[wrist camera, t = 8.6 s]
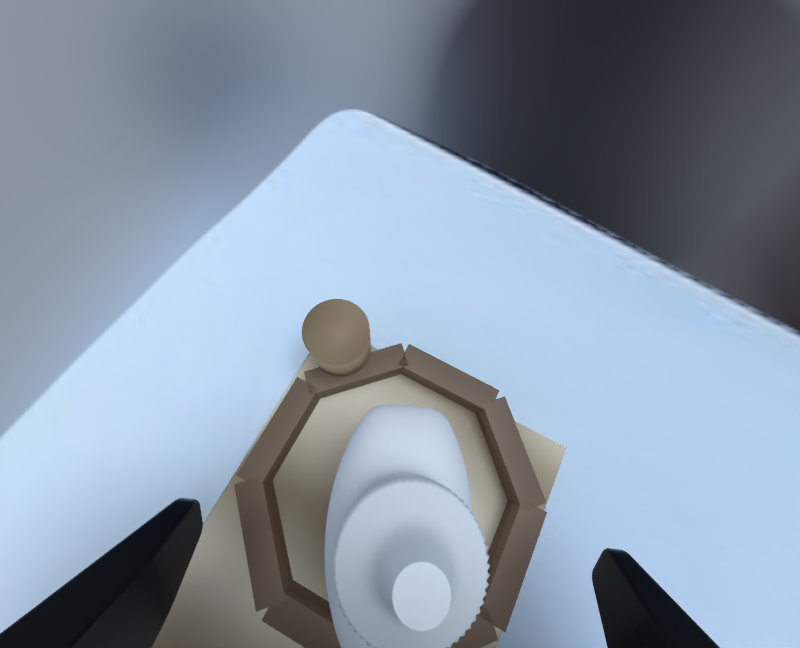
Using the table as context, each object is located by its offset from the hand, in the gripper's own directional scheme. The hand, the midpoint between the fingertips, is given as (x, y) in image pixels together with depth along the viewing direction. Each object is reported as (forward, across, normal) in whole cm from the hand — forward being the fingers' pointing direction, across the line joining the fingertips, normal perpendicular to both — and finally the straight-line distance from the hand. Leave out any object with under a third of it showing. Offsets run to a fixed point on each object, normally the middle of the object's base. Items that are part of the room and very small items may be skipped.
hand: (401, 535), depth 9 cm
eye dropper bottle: (+6, 0, +5) cm, 8 cm away
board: (+5, +1, +8) cm, 9 cm away
